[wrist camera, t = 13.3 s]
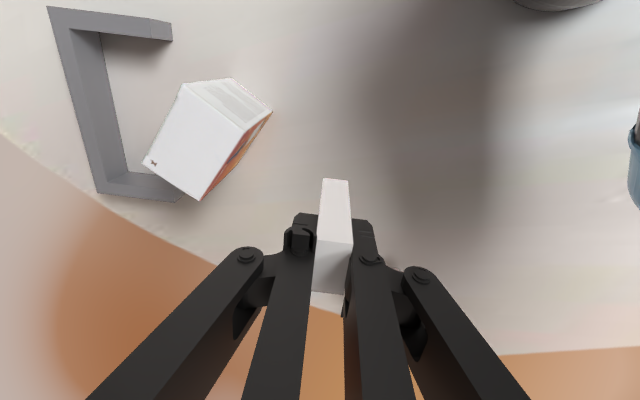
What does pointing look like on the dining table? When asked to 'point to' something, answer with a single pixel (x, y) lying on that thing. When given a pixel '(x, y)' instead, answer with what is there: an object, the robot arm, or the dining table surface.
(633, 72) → the dining table surface
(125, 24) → the square bracket
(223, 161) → the small box
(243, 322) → the robot arm
